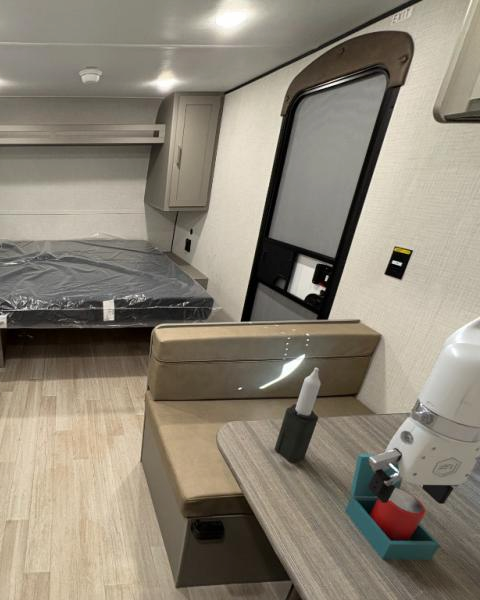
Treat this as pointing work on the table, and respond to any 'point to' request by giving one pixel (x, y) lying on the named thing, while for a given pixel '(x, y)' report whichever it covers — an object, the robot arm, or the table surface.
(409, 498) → the can
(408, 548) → the teal hinged box
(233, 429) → the table surface
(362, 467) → the lid
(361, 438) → the table surface
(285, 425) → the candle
